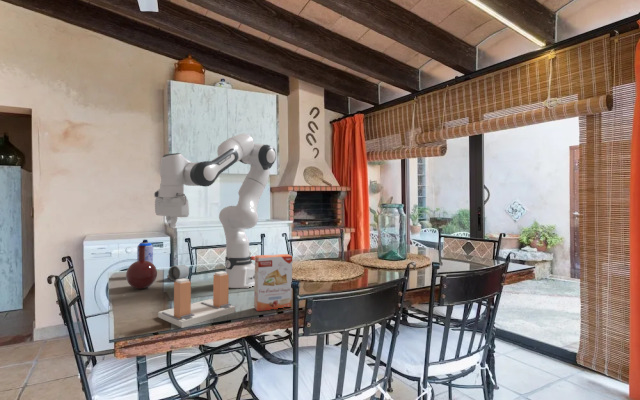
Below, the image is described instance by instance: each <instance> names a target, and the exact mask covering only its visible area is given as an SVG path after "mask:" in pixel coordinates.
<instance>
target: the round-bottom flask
mask: <svg viewBox="0 0 640 400" xmlns="http://www.w3.org/2000/svg"><path fill="white" fill-rule="evenodd" d="M137 247H139V261H137V260H136V261H135V262H132V263H131V264H130V265H129V266H128V268H127V270H126V273H125V279H126V281H127V283H128V285H130V286H131V287H132V288H135V289H137V290H138V289H139V290H142V289H147V288H149V287H150V286H152V285H153V284H154V283H155V281H156V279H157V278H158V277H157V276H158V269H157V267H156V265H155V264H154V263H153V264H152V263H151V262H149V261H146V260H145V247H146V246H138V245H137Z"/></svg>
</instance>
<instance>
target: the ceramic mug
mask: <svg viewBox="0 0 640 400" xmlns="http://www.w3.org/2000/svg"><path fill="white" fill-rule="evenodd" d="M167 273H168V274H167V276H166V277H167V278H166V279H170V281H173V282H176V280H178V279H183V278H185V279H187V277H189V274H190V268H189V267H188V266H187V265H186V264H177V265H173V266H171V267H170V268H169V269H168V271H167Z"/></svg>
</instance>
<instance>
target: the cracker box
mask: <svg viewBox="0 0 640 400" xmlns="http://www.w3.org/2000/svg"><path fill="white" fill-rule="evenodd" d="M254 256H255V260H254V265H255V286H254V287H253V288H254V291H253V292H254V299H253V308H254V309H255V310H256V312H263V311H272V310H271V309H274V310H279V309H278V308H283V307H290V306H291V307H292V291H293V290H292V288H293V287H292V288H291V282H292V281H293V256H292V255H290V254H289V253H283V254H261V255H257V254H256V255H254ZM292 283H293V282H292ZM283 309H284V308H283Z"/></svg>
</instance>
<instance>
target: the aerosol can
mask: <svg viewBox="0 0 640 400" xmlns="http://www.w3.org/2000/svg"><path fill="white" fill-rule="evenodd" d="M138 246H146V247H145V260H146V261H149V262H151V263H152V264H154V247H153V246H154V245H153V244H152V243H151V242H149V240H148V239H142V242H140V243H139V244H138V245H137V248H136V249H137V251H136V254H137V256H136V257H137V259H136V261H139V247H138Z"/></svg>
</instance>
